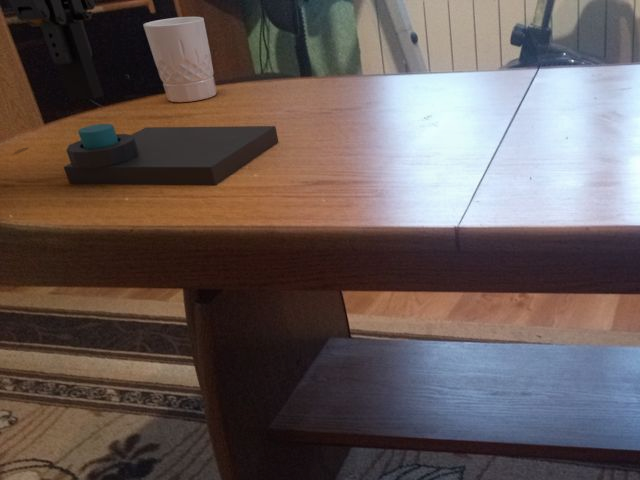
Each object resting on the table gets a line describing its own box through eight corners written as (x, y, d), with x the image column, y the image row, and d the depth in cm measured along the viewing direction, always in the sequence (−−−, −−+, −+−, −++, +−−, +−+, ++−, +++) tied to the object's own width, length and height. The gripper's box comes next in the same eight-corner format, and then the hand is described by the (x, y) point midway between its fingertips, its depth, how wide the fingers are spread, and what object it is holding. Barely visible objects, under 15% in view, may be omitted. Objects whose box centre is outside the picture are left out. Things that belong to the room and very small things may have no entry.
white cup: (168, 94, 107) (149, 20, 102) (223, 88, 108) (206, 14, 103) (159, 106, 101) (137, 27, 95) (218, 100, 102) (199, 22, 96)
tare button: (76, 150, 71) (70, 132, 70) (97, 141, 74) (91, 123, 73) (105, 150, 70) (99, 132, 69) (125, 141, 73) (119, 123, 72)
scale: (65, 187, 72) (52, 152, 70) (150, 144, 84) (141, 112, 82) (213, 188, 68) (203, 151, 67) (279, 143, 80) (272, 110, 79)
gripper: (-43, -230, 51) (75, 114, 63) (78, -210, 62) (159, 81, 74) (-129, -217, 53) (3, 116, 65) (4, -200, 63) (95, 83, 76)
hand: (86, 97), depth 70 cm, fingers closed
